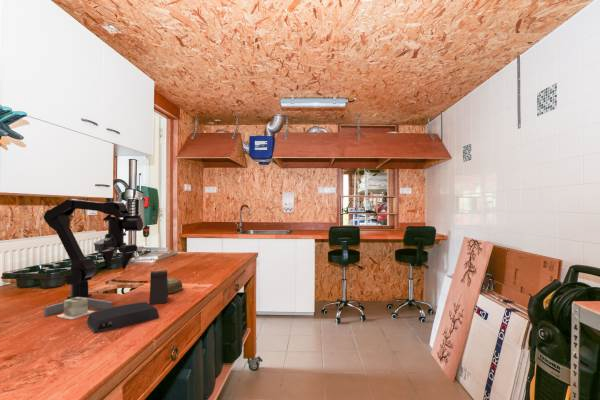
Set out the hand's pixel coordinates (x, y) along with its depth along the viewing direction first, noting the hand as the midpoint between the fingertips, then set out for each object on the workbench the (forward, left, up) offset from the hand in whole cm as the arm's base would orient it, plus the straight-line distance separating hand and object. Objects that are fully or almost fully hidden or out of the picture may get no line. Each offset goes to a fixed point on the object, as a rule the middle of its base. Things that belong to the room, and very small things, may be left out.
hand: (115, 268), depth 136 cm
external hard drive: (+28, -19, -13) cm, 36 cm away
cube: (+7, -21, -12) cm, 25 cm away
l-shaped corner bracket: (+6, -19, -12) cm, 24 cm away
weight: (+13, +15, -12) cm, 23 cm away
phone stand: (+22, +2, -12) cm, 25 cm away
